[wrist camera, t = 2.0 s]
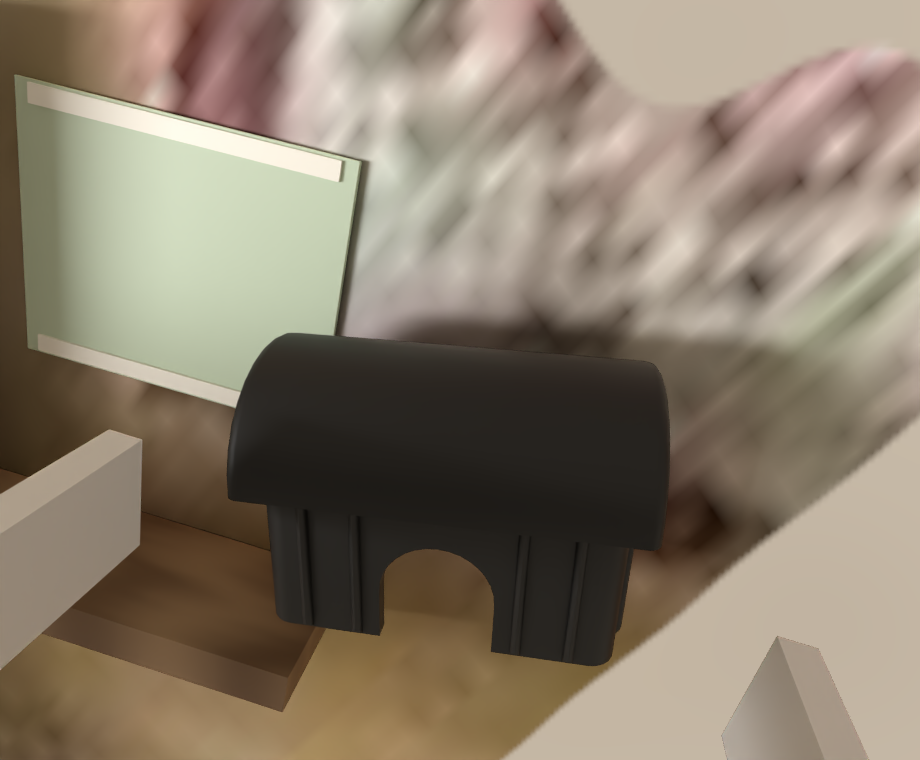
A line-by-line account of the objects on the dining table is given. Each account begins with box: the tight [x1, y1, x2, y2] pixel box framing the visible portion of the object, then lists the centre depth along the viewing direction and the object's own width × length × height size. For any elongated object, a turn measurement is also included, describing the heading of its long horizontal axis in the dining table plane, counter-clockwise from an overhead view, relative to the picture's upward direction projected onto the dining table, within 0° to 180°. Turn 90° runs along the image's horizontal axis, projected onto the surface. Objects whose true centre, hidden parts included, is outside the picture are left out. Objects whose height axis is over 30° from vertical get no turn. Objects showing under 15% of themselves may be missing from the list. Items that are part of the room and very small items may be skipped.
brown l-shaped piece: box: [0, 468, 326, 712], centre depth 19 cm, size 16×18×5 cm
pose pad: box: [14, 74, 362, 408], centre depth 20 cm, size 11×9×1 cm
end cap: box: [227, 333, 670, 666], centre depth 17 cm, size 10×7×7 cm
